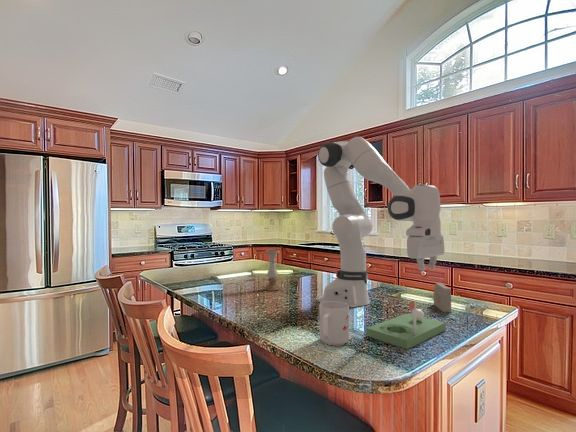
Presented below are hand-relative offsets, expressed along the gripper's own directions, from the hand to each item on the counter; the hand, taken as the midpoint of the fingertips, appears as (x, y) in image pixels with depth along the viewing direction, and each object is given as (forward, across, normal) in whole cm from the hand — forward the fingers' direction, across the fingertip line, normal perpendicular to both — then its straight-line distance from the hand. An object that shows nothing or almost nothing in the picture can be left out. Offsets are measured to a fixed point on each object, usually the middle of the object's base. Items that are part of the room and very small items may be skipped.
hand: (427, 269), depth 115 cm
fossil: (+20, -24, -6) cm, 32 cm away
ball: (+15, +7, 0) cm, 16 cm away
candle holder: (+19, +7, -80) cm, 83 cm away
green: (+19, +14, 0) cm, 24 cm away
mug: (+19, +38, -10) cm, 44 cm away
